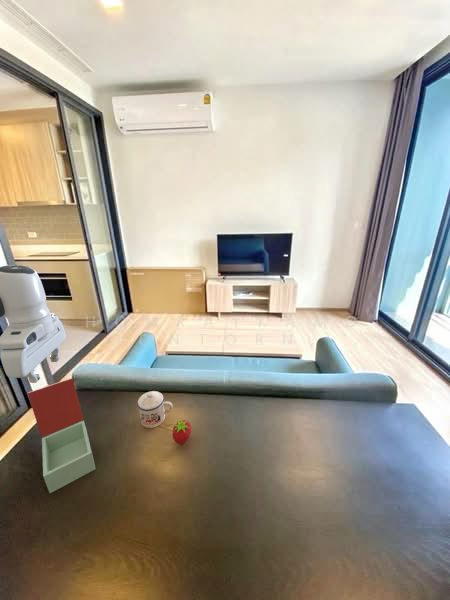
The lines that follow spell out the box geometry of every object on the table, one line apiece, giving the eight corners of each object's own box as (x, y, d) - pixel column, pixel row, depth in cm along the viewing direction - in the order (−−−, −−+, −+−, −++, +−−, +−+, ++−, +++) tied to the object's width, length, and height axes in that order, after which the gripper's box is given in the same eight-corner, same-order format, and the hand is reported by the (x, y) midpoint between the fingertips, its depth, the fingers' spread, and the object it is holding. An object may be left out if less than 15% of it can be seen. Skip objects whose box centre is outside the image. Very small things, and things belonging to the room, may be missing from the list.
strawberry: (194, 434, 86) (192, 412, 82) (188, 454, 79) (186, 431, 75) (177, 432, 87) (175, 410, 83) (170, 452, 80) (168, 429, 76)
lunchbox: (95, 469, 75) (91, 452, 72) (49, 493, 69) (43, 476, 66) (87, 435, 86) (83, 420, 84) (47, 453, 80) (41, 438, 77)
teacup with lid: (138, 430, 88) (133, 404, 84) (143, 410, 96) (139, 386, 92) (172, 427, 89) (169, 401, 85) (174, 408, 97) (172, 383, 93)
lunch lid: (72, 378, 80) (72, 377, 80) (27, 393, 74) (27, 392, 74) (83, 419, 83) (83, 418, 84) (41, 437, 77) (41, 436, 77)
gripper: (44, 311, 75) (55, 350, 80) (-11, 346, 56) (7, 395, 61) (66, 310, 76) (75, 350, 80) (18, 345, 56) (34, 394, 61)
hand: (46, 370), depth 71 cm, fingers open, 8 cm apart
